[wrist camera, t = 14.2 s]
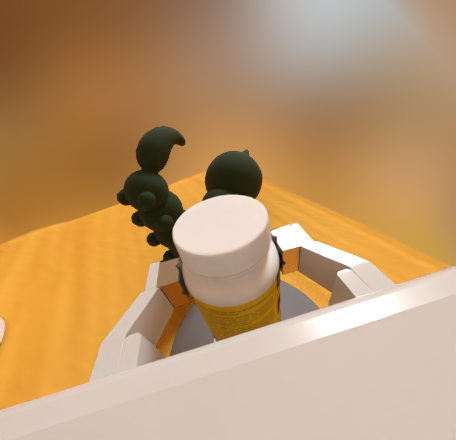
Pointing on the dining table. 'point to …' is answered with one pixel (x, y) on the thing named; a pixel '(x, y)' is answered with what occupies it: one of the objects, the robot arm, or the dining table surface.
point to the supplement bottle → (230, 264)
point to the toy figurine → (167, 201)
